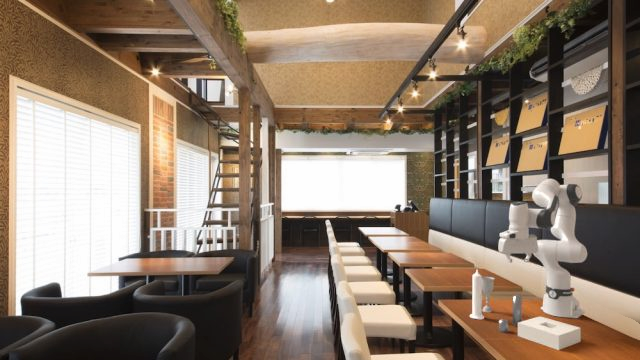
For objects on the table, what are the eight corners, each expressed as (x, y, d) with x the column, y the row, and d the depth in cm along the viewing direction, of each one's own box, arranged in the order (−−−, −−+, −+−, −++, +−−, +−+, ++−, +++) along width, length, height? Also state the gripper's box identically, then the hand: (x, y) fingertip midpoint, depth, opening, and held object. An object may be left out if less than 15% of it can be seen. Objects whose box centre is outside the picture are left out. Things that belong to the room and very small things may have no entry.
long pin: (515, 322, 198) (515, 294, 198) (523, 325, 195) (523, 296, 195) (510, 324, 196) (511, 295, 196) (518, 326, 193) (518, 297, 193)
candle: (485, 320, 202) (485, 270, 202) (470, 319, 203) (471, 270, 203) (482, 315, 209) (483, 268, 209) (468, 314, 210) (468, 267, 210)
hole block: (539, 328, 190) (539, 316, 190) (580, 341, 175) (580, 327, 175) (517, 335, 181) (517, 322, 181) (558, 350, 165) (558, 335, 165)
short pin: (502, 329, 189) (502, 318, 189) (510, 331, 186) (510, 321, 186) (497, 330, 187) (497, 319, 187) (504, 333, 184) (504, 322, 184)
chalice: (493, 309, 219) (494, 277, 219) (495, 313, 212) (495, 279, 212) (479, 308, 221) (479, 276, 221) (480, 312, 215) (480, 278, 215)
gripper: (532, 233, 202) (531, 260, 202) (496, 233, 198) (496, 261, 198) (541, 235, 196) (541, 263, 196) (504, 235, 192) (504, 263, 192)
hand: (518, 262), depth 197 cm, fingers open, 8 cm apart
